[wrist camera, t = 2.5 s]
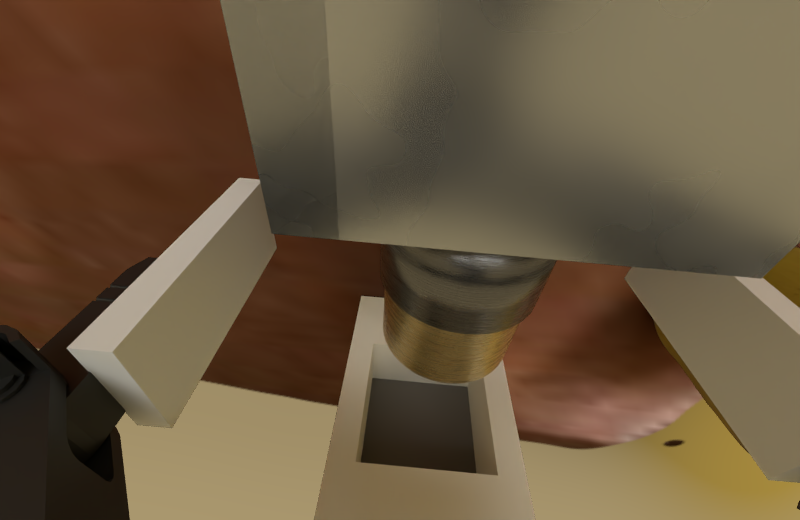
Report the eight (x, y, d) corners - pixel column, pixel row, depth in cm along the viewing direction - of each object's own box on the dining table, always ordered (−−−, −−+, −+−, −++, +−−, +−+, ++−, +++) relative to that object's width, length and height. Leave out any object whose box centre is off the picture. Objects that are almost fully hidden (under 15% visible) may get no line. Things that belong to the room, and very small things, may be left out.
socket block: (361, 295, 23) (312, 523, 13) (492, 307, 23) (540, 545, 13) (361, 340, 26) (323, 549, 16) (476, 351, 26) (505, 567, 16)
